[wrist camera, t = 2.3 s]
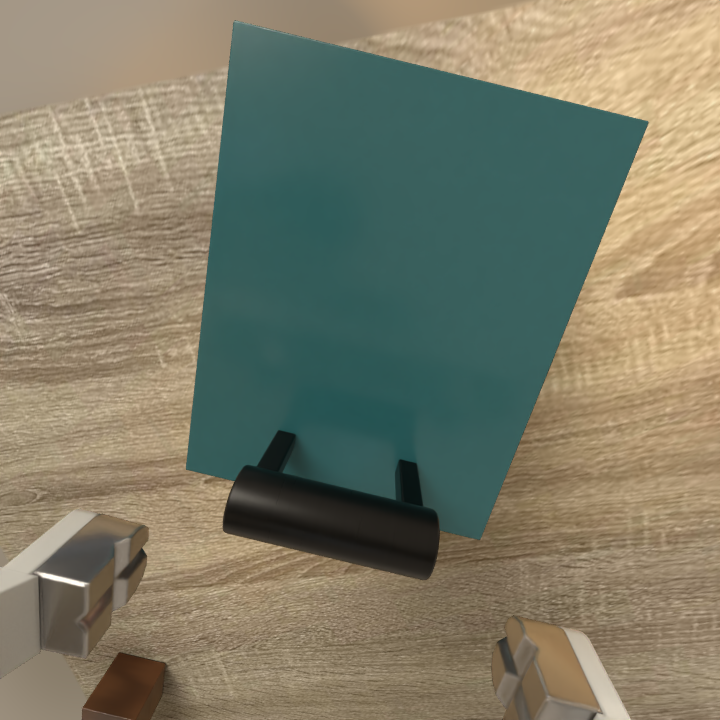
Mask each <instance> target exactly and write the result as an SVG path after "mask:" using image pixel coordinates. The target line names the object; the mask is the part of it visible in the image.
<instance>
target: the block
mask: <svg viewBox="0 0 720 720" xmlns="http://www.w3.org/2000/svg"><path fill="white" fill-rule="evenodd" d="M165 665H166V664H165V663H161V662H157V661H153V660H149V659H144V658H140V657H136V656H132V655H128V654H123V653H118V655H117V656H116V658H115V659H114V661H113V662H112V664H111V666H110V667H109V669H108V670H107V672H106V673H105V675H104V676H103V678H102V679H101V681H100V682H99V684H98V685H97V687H96V688H95V690H94V691H93V693H92V694H91V696H90V697H89V699H88V700H87V702H86V704H85V705H84V706H83V708H82V720H150V719H151V717H152V715H153V713H154V711H155V709H156V707H157V705H158V703H159V701H160V699H161V697H162V693H163V683H164V674H165Z"/></svg>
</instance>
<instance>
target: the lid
mask: <svg viewBox="0 0 720 720" xmlns="http://www.w3.org/2000/svg"><path fill="white" fill-rule="evenodd" d="M647 125H648V121H645V120H641V119H636V118H632V117H628V116H624V115H620V114H616V113H612V112H608V111H604V110H600V109H596V108H591V107H587V106H583V105H579V104H575V103H571V102H567V101H563V100H559V99H555V98H551V97H546V96H542V95H538V94H534V93H530V92H526V91H522V90H518V89H514V88H510V87H506V86H501V85H497V84H493V83H489V82H485V81H481V80H477V79H473V78H469V77H465V76H461V75H456V74H452V73H448V72H444V71H440V70H436V69H432V68H428V67H424V66H420V65H416V64H411V63H407V62H403V61H399V60H395V59H391V58H387V57H383V56H379V55H375V54H371V53H366V52H362V51H358V50H354V49H350V48H346V47H342V46H338V45H334V44H330V43H325V42H321V41H317V40H313V39H309V38H305V37H300V36H297V35H293V34H289V33H285V32H281V31H276V30H272V29H268V28H264V27H260V26H256V25H252V24H248V23H244V22H239V21H236V20H235V21H234V23H233V33H232V42H231V51H230V60H229V70H228V79H227V88H226V98H225V107H224V116H223V126H222V135H221V144H220V154H219V163H218V173H217V182H216V191H215V201H214V210H213V219H212V229H211V238H210V247H209V257H208V266H207V275H206V285H205V294H204V304H203V313H202V322H201V332H200V341H199V350H198V360H197V369H196V378H195V388H194V397H193V407H192V416H191V425H190V435H189V444H188V453H187V463H186V470H190V471H194V472H198V473H202V474H207V475H211V476H215V477H219V478H223V479H227V480H232V481H235V482H234V484H233V486H232V489H231V491H230V494H229V497H228V500H227V503H226V507H225V511H224V516H223V531H224V532H225V533H228V534H232V535H236V536H240V537H244V538H249V539H253V540H257V541H261V542H265V543H269V544H274V545H278V546H282V547H286V548H290V549H294V550H299V551H303V552H307V553H311V554H315V555H319V556H324V557H328V558H332V559H336V560H340V561H345V562H349V563H353V564H357V565H361V566H365V567H370V568H374V569H378V570H382V571H386V572H390V573H395V574H399V575H403V576H407V577H411V578H415V579H420V580H427V579H428V578H429V577H430V576H431V574H432V572H433V569H434V566H435V563H436V559H437V555H438V549H439V539H440V531H444V532H448V533H452V534H456V535H461V536H465V537H469V538H473V539H477V540H480V539H481V537H482V534H483V532H484V529H485V527H486V524H487V522H488V519H489V517H490V514H491V512H492V509H493V507H494V504H495V502H496V499H497V497H498V494H499V492H500V490H501V487H502V485H503V482H504V480H505V477H506V475H507V472H508V470H509V467H510V465H511V462H512V460H513V457H514V455H515V452H516V450H517V447H518V445H519V442H520V440H521V438H522V435H523V433H524V430H525V428H526V425H527V423H528V420H529V418H530V415H531V413H532V410H533V408H534V405H535V403H536V400H537V398H538V395H539V393H540V390H541V388H542V385H543V383H544V381H545V378H546V376H547V373H548V371H549V368H550V366H551V363H552V361H553V358H554V356H555V353H556V351H557V348H558V346H559V343H560V341H561V338H562V336H563V333H564V331H565V329H566V326H567V324H568V321H569V319H570V316H571V314H572V311H573V309H574V306H575V304H576V301H577V299H578V296H579V294H580V291H581V289H582V286H583V284H584V281H585V279H586V277H587V274H588V272H589V269H590V267H591V264H592V262H593V259H594V257H595V254H596V252H597V249H598V247H599V244H600V242H601V239H602V237H603V234H604V232H605V229H606V227H607V225H608V222H609V220H610V217H611V215H612V212H613V210H614V207H615V205H616V202H617V200H618V197H619V195H620V192H621V190H622V187H623V185H624V182H625V180H626V177H627V175H628V172H629V170H630V168H631V165H632V163H633V160H634V158H635V155H636V153H637V150H638V148H639V145H640V143H641V140H642V138H643V135H644V133H645V130H646V128H647Z"/></svg>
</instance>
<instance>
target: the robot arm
mask: <svg viewBox="0 0 720 720" xmlns="http://www.w3.org/2000/svg"><path fill="white" fill-rule="evenodd" d="M148 537H149V528H148V527H147V526H145V525H141V524H138V523H134V522H130V521H127V520H123V519H120V518H116V517H112V516H109V515H105V514H100V513H96V512H92V511H89V510H85V509H81V508H79V509H76V510H74V511H71V512H70V513H68V514H67V515H66V516H65V517H64V518H62V519H61V520H60V521H59V522H57V523H56V524H55V525H54V526H53V527H51V528H50V529H49V530H48V531H46V532H45V533H44V534H43V535H42V536H40V537H39V538H38V539H37V540H36V541H34V542H33V543H32V544H31V545H29V546H28V547H27V548H26V549H25V550H23V551H22V552H21V553H20V554H18V555H17V556H16V557H15V558H14V559H12V560H11V561H10V562H9V563H7V564H6V565H5V566H4V567H0V679H1V678H2V677H4V676H5V675H7V674H8V673H10V672H11V671H13V670H14V669H16V668H17V667H19V666H21V665H22V664H24V663H25V662H27V661H28V660H30V659H31V658H33V657H34V656H36V655H37V654H39V653H40V652H41V649H42V650H46V651H51V652H56V653H61V654H66V655H70V656H75V657H80V658H85V659H86V658H87V656H88V655H89V654H90V652H91V651H92V650H93V648H94V647H95V646H96V644H97V643H98V642H99V640H100V639H101V638H102V636H103V635H104V634H105V632H106V631H107V630H108V628H109V627H110V626H111V617H112V612H113V611H115V610H117V609H118V608H120V607H122V606H124V605H126V604H127V602H128V601H129V600H130V598H131V597H132V595H133V594H134V593H135V591H136V589H137V587H138V585H139V583H140V581H141V579H142V577H143V575H144V571H145V568H146V563H147V555H146V553H145V552H144V550H143V549H142V547H143V546H144V545H145V543H146V542H147V541H148ZM504 628H505V632H506V635H507V637H505V638H503V639H501V640H500V641H498V642H497V644H496V646H495V649H494V651H493V653H492V664H491V672H492V681H493V686H494V690H495V694H496V696H497V697H498V699H499V700H500V702H501V703H502V704H503V706H504V707H505V709H506V711H505V714H504V717H503V719H502V720H631V718H630V716H629V714H628V712H627V710H626V708H625V706H624V705H623V703H622V701H621V699H620V697H619V695H618V693H617V691H616V689H615V687H614V685H613V684H612V682H611V680H610V678H609V676H608V674H607V672H606V670H605V668H604V666H603V664H602V663H601V661H600V659H599V657H598V655H597V653H596V651H595V649H594V647H593V645H592V643H591V642H590V640H589V638H588V637H587V636H586V635H585V634H584V633H583V632H582V631H578V630H574V629H570V628H566V627H561V626H556V625H553V624H549V623H545V622H541V621H536V620H532V619H528V618H523V617H519V616H515V615H513V616H511V617H510V618H508V620H507V622H506V624H505V626H504Z"/></svg>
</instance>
